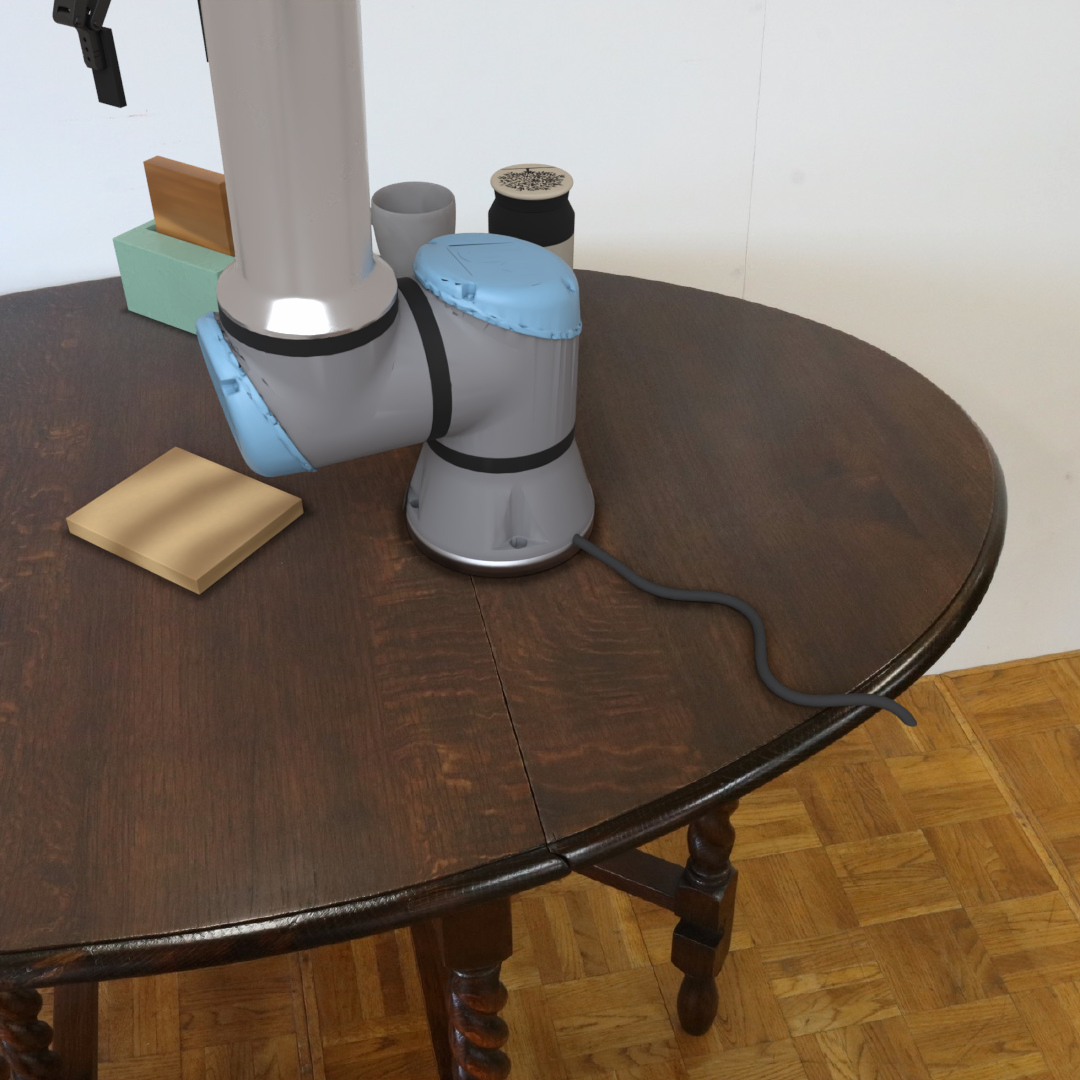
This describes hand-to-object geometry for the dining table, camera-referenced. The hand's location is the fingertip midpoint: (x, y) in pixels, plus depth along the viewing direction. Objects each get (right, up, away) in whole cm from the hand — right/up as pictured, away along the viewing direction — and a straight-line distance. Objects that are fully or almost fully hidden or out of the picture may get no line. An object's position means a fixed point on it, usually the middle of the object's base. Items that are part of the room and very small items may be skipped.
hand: (168, 83), depth 110 cm
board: (+6, -41, -14) cm, 43 cm away
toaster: (0, -18, +15) cm, 23 cm away
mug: (+19, -14, +20) cm, 31 cm away
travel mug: (+33, -24, +8) cm, 42 cm away
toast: (0, -16, +13) cm, 20 cm away
